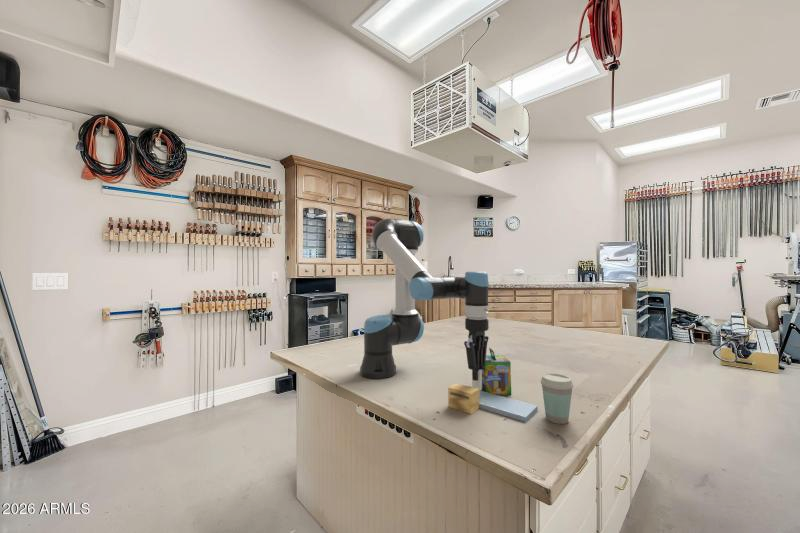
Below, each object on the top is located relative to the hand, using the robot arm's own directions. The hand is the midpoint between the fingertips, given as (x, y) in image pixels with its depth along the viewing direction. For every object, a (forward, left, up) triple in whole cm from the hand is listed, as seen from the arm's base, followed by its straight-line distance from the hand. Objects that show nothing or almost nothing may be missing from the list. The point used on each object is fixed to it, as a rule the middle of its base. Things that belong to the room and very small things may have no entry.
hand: (477, 389), depth 106 cm
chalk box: (+1, +11, -4) cm, 12 cm away
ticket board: (+6, -1, -3) cm, 7 cm away
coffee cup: (+24, +2, -4) cm, 24 cm away
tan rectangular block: (0, -9, -3) cm, 9 cm away
